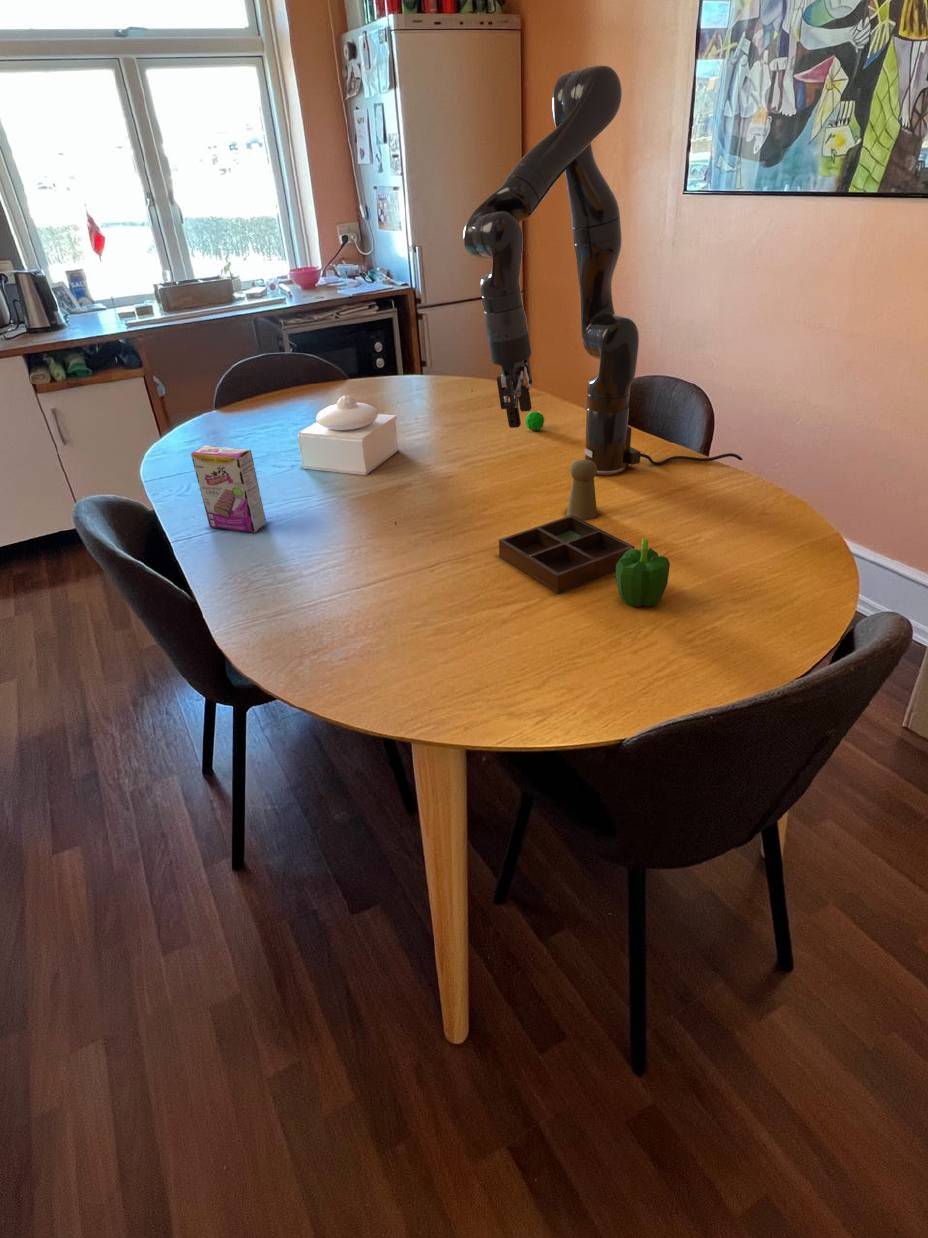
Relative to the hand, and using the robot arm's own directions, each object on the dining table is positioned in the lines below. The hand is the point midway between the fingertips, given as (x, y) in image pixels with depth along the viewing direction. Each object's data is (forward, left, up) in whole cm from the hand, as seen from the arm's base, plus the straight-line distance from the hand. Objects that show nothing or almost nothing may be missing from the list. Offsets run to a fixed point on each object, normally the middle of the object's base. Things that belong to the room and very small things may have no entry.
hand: (520, 418), depth 145 cm
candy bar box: (+56, -20, -19) cm, 62 cm away
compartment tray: (+4, +25, -19) cm, 31 cm away
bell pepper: (0, +43, -19) cm, 47 cm away
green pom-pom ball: (-25, -43, -19) cm, 54 cm away
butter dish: (+24, -47, -19) cm, 56 cm away
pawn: (-9, +9, -19) cm, 23 cm away
